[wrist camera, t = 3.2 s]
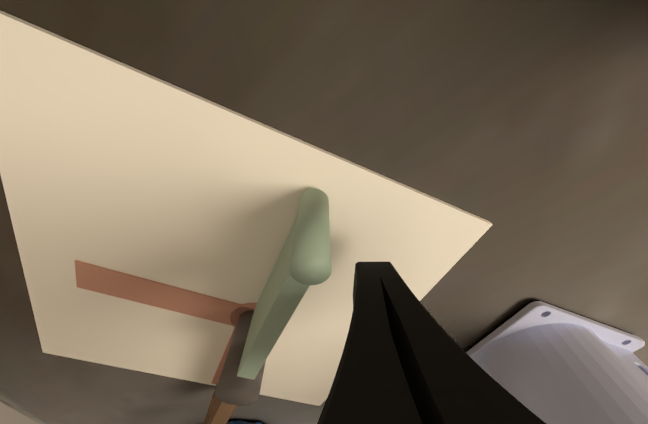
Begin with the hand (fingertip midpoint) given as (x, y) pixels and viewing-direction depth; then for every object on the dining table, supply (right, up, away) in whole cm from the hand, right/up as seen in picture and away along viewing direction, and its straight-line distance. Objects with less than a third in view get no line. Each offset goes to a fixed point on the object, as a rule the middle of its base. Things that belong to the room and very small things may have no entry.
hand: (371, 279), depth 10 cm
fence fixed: (-8, -7, +7) cm, 12 cm away
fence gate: (-4, 0, +2) cm, 4 cm away
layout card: (-7, -2, +4) cm, 9 cm away
